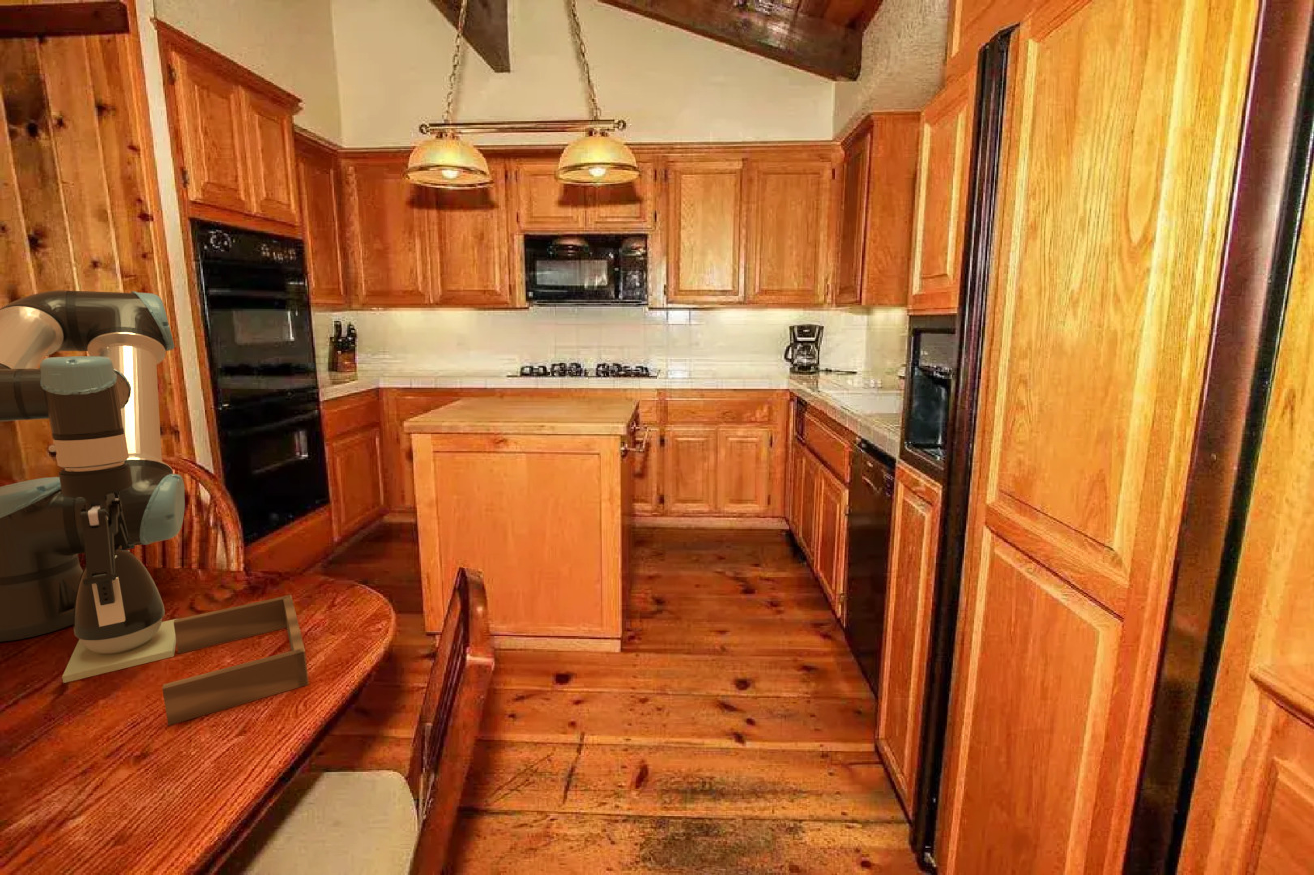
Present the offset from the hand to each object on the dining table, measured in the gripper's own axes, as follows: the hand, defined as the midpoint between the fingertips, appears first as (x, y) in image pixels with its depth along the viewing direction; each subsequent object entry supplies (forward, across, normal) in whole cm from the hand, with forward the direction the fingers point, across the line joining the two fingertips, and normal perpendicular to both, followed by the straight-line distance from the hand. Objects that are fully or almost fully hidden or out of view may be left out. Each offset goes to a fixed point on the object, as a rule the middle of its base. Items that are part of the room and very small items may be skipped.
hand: (118, 606), depth 90 cm
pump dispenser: (+6, 0, 0) cm, 6 cm away
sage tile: (+7, 0, 0) cm, 7 cm away
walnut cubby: (+7, +15, +14) cm, 22 cm away
